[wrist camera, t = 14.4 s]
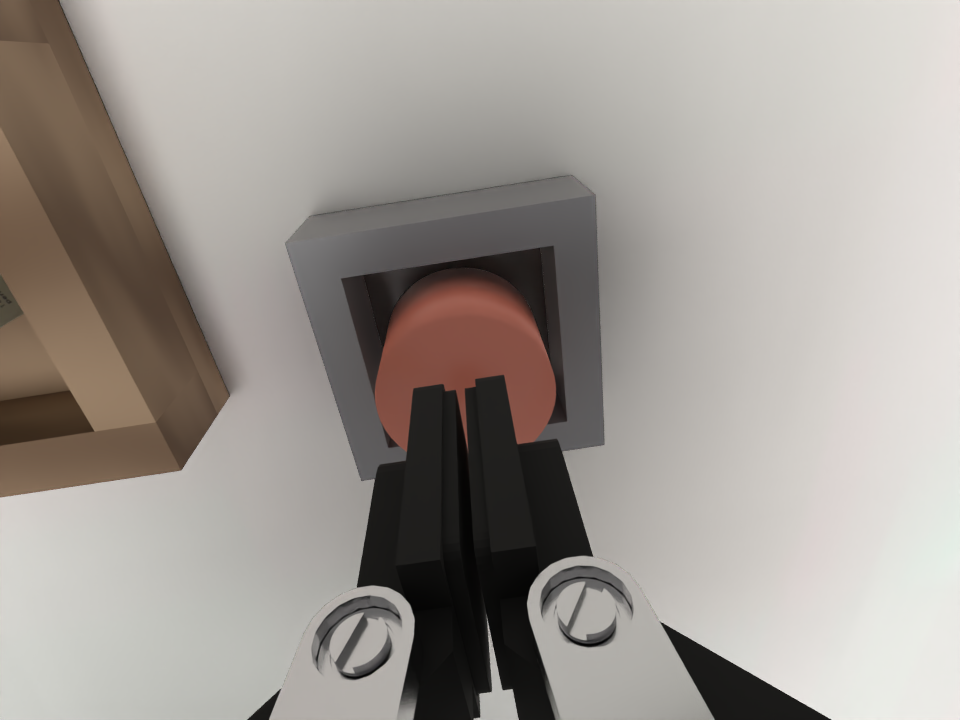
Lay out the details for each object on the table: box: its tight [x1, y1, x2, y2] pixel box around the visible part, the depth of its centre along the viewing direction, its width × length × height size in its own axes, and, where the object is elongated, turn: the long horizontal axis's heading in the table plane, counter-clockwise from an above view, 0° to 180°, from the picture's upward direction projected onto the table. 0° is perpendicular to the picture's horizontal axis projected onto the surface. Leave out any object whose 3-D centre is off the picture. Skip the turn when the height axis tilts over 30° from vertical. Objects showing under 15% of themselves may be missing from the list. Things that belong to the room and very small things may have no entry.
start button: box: [375, 267, 556, 452], centre depth 13 cm, size 4×4×3 cm
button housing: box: [285, 175, 604, 481], centre depth 15 cm, size 7×7×2 cm
